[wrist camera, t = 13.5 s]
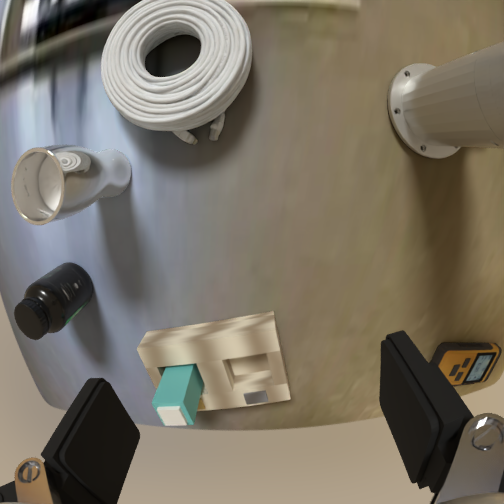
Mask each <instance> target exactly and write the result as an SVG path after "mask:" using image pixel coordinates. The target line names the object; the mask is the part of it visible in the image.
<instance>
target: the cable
mask: <svg viewBox="0 0 504 504" xmlns="http://www.w3.org/2000/svg"><path fill="white" fill-rule="evenodd" d="M182 34H188V35H192V36H194V37H196V38H198V39H199V40H200V41H201V52H200V55H199V57H198V59H197V60H196V62H195V63H194V64H193V65H192V66H191V67H189V68H188V69H187V70H185V71H183V72H181V73H179V74H176V75H173V76H169V77H154V76H152V75H151V74H150V73H148V72H147V70H146V69H145V57H146V55H147V54H148V53H149V52H150V51H151V50H153V49H154V48H155V47H156V46H158V45H159V44H161V43H162V42H164V41H165V40H167V39H169V38H171V37H174V36H177V35H182ZM251 62H252V43H251V37H250V32H249V29H248V26H247V24H246V22H245V21H244V19H243V18H242V16H241V15H240V14H239V13H238V11H237V10H236V9H235V8H234V7H233V6H231V5H230V4H229V3H228V2H226V1H225V0H143V1H141V2H139V3H138V4H136V5H135V6H133V7H132V8H131V9H129V10H128V11H127V12H126V13H125V14H124V15H123V16H122V17H121V19H120V20H119V21H118V22H117V24H116V25H115V26H114V28H113V30H112V31H111V33H110V35H109V37H108V40H107V42H106V44H105V47H104V51H103V54H102V60H101V76H102V81H103V85H104V89H105V91H106V93H107V95H108V97H109V99H110V101H111V103H112V104H113V106H114V107H115V108H116V109H117V110H118V111H119V112H120V113H121V115H122V116H123V117H125V118H126V119H127V120H128V121H130V122H131V123H133V124H135V125H137V126H139V127H142V128H145V129H149V130H157V131H173V133H174V134H175V135H176V136H178V137H179V138H180V139H181V140H183V141H185V142H187V143H190V144H197V142H198V140H197V139H196V138H195V137H194V135H192V134H191V133H190V132H188V131H187V130H189V129H193V128H196V127H199V126H201V125H204V124H206V123H208V122H209V121H211V120H213V119H214V121H213V124H211V126H210V127H211V131H210V135H209V139H210V140H212V141H217V140H218V136H219V134H220V132H221V131H222V128H223V125H224V119H225V114H224V112H225V109H226V108H227V107H228V106H229V105H230V104H231V103H232V102H233V101H234V100H235V98H236V97H237V95H238V94H239V92H240V91H241V89H242V88H243V86H244V84H245V82H246V80H247V77H248V75H249V71H250V68H251Z"/></svg>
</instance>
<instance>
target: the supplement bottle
mask: <svg viewBox="0 0 504 504" xmlns="http://www.w3.org/2000/svg"><path fill="white" fill-rule="evenodd" d="M92 293H93V287H92V282H91V280H90V277H89V276H88V274H87V272H86V271H85V270H84V269H83V268H82V267H80V266H79V265H77V264H75V263H70V262H69V263H64V264H62V265H60V266H58V267H57V268H55V269H53V270H52V271H50V272H49V273H47V274H46V275H44V276H43V277H41V278H40V279H38V280H37V281H35V282H34V283H32V284H31V285H30V286H29V287H28V288H27V290H26V292H25V295H24V299H23V300H22V301H21V302H20V303H19V304H18V305H17V306H16V307H15V312H14V316H15V320H16V323H17V325H18V327H19V328H20V330H21V331H22V332H23V333H24V334H25V335H26V336H27V337H29V338H30V339H34V340H38V339H40V338H42V337H43V336H44V335H45V334H46V333H55V332H58V331H60V330H61V329H62V328H63V327H64V326H65V325H66V324H67V323H68V322H69V321H70V320H71V319H72V318H73V317H74V316H75V315H76V314H77V313H78V312H79V311H80V310H81V309H82V308H83V307H85V306H86V304H87V303H88V302H89V301H90V299H91V297H92Z"/></svg>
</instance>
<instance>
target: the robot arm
mask: <svg viewBox="0 0 504 504" xmlns="http://www.w3.org/2000/svg"><path fill="white" fill-rule="evenodd" d="M405 75H406V76H405ZM388 110H389V115H390V118H391V121H392V124H393V126H394V128H395V130H396V132H397V134H398V135H399V137H400V138H401V139H402V141H403V142H404V143H405V144H406V145H407V146H408V147H409V148H410V149H412V150H413V151H415V152H416V153H418V154H420V155H422V156H424V157H429V158H437V159H439V158H446V157H449V156H451V155H453V154H454V153H456V152H457V151H458V150H459V149H460V148H461V147H484V148H502V149H504V41H503V42H501V43H498V44H495V45H492V46H489V47H487V48H484V49H482V50H479V51H476V52H473V53H471V54H468V55H465V56H463V57H460V58H458V59H455V60H453V61H450V62H448V63H445V64H443V65H441V66H438V67H435V66H433V65H430V64H424V63H418V64H412V65H409V66H407V67H405V68H403V69H402V70H400V71H399V72H398V73H397V74H396V75H395V77H394V78H393V80H392V82H391V84H390V87H389V91H388ZM394 110H395V111H396V114H395V112H394ZM420 148H421V149H420ZM379 400H380V406H381V409H382V411H383V413H384V416H385V418H386V421H387V423H388V425H389V428H390V430H391V433H392V435H393V438H394V440H395V442H396V445H397V447H398V450H399V452H400V455H401V457H402V460H403V462H404V465H405V468H406V470H407V473H408V476H409V478H410V480H411V482H412V483H416V482H417V484H418V486H419V489H422V488H424V487H427V486H429V488H430V490H431V492H433V493H434V495H433V497H432V499H431V501H430V504H504V418H502V417H501V416H499V415H496V414H492V413H484V414H480V415H477V416H475V417H474V416H473V415H472V413H471V412H470V410H469V409H468V408H467V406H466V405H465V403H464V402H463V400H462V399H461V397H460V396H459V394H458V393H457V392H456V390H455V389H454V387H453V386H452V385H451V383H450V382H449V380H448V379H447V378H446V376H445V375H444V373H443V372H442V371H441V369H440V368H439V367H438V365H437V364H436V363H434V362H430V363H428V362H427V361H426V360H425V358H424V357H423V355H422V354H421V353H420V351H419V350H418V349H417V347H416V346H415V344H414V343H413V342H412V340H411V339H410V338H409V336H408V335H407V334H406V332H405V331H403V330H402V331H399V332H395V333H392V334H388V335H387V336H386V340H383V341H382V342H381V373H380V397H379ZM139 439H140V433H139V430H138V429H137V427H136V425H135V424H134V422H133V421H132V419H131V418H130V416H129V414H128V413H127V411H126V410H125V408H124V406H123V405H122V403H121V401H120V400H119V398H118V396H117V395H116V393H115V391H114V390H113V388H112V386H111V384H110V383H109V382H107V381H106V380H105V379H104V378H90V379H88V380H87V381H86V383H85V385H84V386H83V388H82V389H81V391H80V392H79V394H78V395H77V397H76V398H75V400H74V401H73V403H72V404H71V406H70V408H69V409H68V411H67V412H66V414H65V415H64V417H63V419H62V420H61V422H60V423H59V425H58V427H57V428H56V430H55V432H54V433H53V435H52V437H51V438H50V440H49V442H48V443H47V445H46V447H45V448H44V450H43V452H42V453H41V456H42V457H43V458H44V459H45V462H44V463H43V462H42V461H41V460H40V459H38V458H28V459H26V460H24V461H22V462H21V463H20V464H19V465H18V467H17V468H16V471H15V481H13V482H10V483H8V484H6V485H3V486H1V487H0V504H117V502H118V499H119V496H120V493H121V490H122V487H123V484H124V481H125V478H126V475H127V473H128V470H129V467H130V464H131V461H132V459H133V456H134V453H135V450H136V448H137V445H138V442H139Z"/></svg>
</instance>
